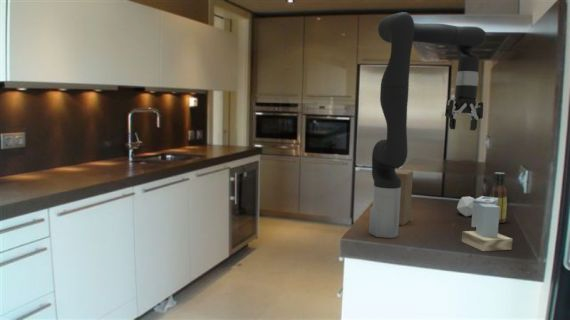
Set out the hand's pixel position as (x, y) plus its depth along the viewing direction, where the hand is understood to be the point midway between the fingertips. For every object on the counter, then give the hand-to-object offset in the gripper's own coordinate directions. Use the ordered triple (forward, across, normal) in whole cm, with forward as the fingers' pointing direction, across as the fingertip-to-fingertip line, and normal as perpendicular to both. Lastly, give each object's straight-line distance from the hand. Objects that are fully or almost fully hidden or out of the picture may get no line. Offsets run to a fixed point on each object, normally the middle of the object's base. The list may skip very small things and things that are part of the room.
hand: (462, 129), depth 179 cm
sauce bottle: (+36, +26, +8) cm, 45 cm away
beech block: (+37, -1, -20) cm, 42 cm away
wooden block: (+38, -16, +16) cm, 44 cm away
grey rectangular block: (+34, -1, -19) cm, 39 cm away
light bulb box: (+37, +16, +3) cm, 40 cm away
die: (+36, +21, +20) cm, 47 cm away
